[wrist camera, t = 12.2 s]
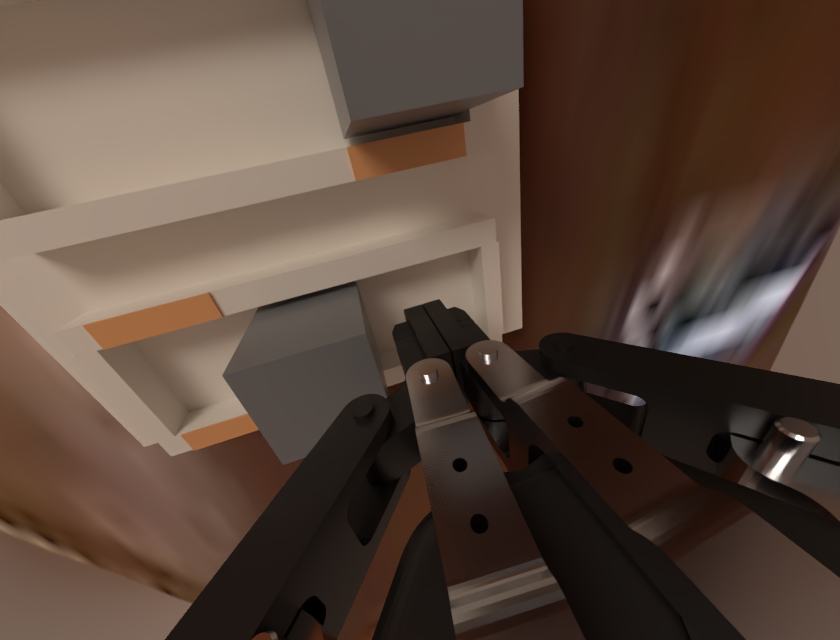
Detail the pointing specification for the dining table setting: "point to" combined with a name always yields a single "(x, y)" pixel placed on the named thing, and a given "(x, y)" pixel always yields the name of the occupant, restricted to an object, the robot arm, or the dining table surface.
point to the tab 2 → (416, 58)
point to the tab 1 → (305, 366)
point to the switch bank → (224, 200)
